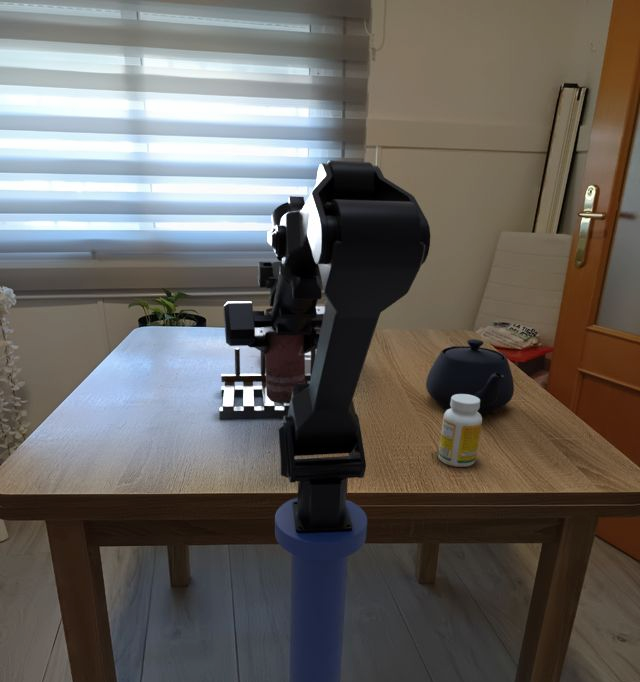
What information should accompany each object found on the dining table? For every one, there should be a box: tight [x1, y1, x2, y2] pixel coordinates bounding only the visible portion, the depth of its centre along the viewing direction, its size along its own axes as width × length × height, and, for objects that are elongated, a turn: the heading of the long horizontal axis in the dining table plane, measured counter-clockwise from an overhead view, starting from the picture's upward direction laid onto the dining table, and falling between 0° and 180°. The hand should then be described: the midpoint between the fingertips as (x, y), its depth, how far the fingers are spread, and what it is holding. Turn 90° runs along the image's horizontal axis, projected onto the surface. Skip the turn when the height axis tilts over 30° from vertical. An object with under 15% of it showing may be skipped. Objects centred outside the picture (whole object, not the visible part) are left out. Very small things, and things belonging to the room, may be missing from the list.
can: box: [264, 307, 305, 404], centre depth 89 cm, size 6×6×14 cm
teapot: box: [425, 338, 515, 415], centre depth 103 cm, size 25×16×12 cm, turn 5°
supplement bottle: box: [438, 394, 483, 468], centre depth 82 cm, size 5×5×10 cm
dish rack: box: [218, 347, 316, 420], centre depth 101 cm, size 14×20×9 cm
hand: (283, 352), depth 90 cm, fingers closed on can, 5 cm apart
